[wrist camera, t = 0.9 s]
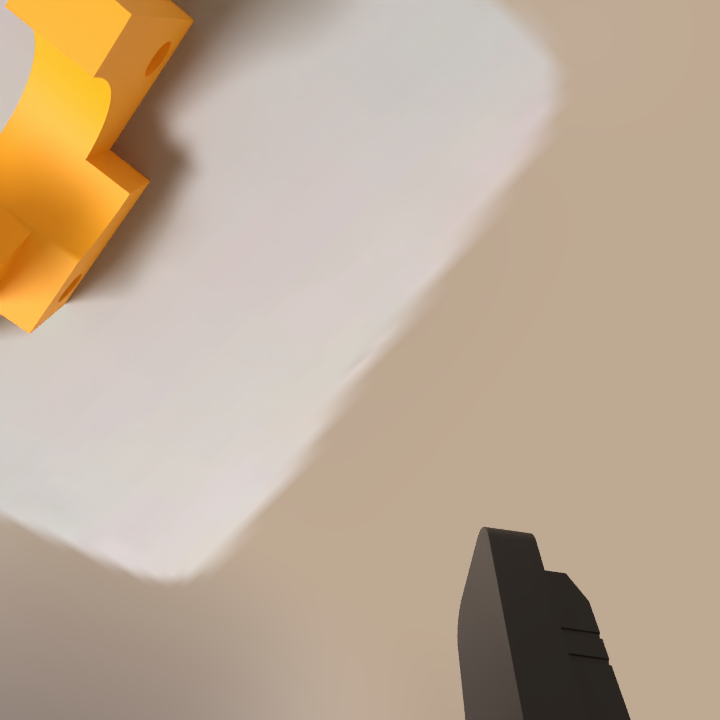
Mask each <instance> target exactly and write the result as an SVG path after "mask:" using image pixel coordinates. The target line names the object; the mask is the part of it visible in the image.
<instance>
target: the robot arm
mask: <svg viewBox="0 0 720 720" xmlns="http://www.w3.org/2000/svg"><path fill="white" fill-rule="evenodd" d="M599 634H600V632H599V629H598V626H597V623H596V620H595V617H594V614H593V612H592V609H591V606H590V603H589V601H588V600H587V599H586V597H585V596H584V595H583V594H582V592H581V591H580V590H579V589H578V588H577V586H576V585H575V584H574V583H573V582H572V580H571V579H570V578H569V577H568V576H567V574H565V573H559V572H552V571H545V570H544V567H543V564H542V560H541V556H540V553H539V549H538V546H537V542H536V539H535V537H534V535H533V534H531V533H524V532H516V531H510V530H502V529H495V528H488V527H483V528H482V529H481V530H480V532H479V535H478V538H477V542H476V546H475V550H474V554H473V557H472V561H471V565H470V569H469V573H468V577H467V581H466V585H465V588H464V592H463V596H462V600H461V605H460V611H459V618H458V652H459V661H460V670H461V680H462V690H463V700H464V710H465V720H630V717H629V714H628V711H627V708H626V705H625V703H624V700H623V697H622V694H621V691H620V689H619V685H618V683H617V680H616V677H615V674H614V671H613V668H612V666H611V665H609V657H608V654H607V652H606V649H605V646H604V643H603V640H602V639H600V637H599Z"/></svg>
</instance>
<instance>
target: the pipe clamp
mask: <svg viewBox="0 0 720 720" xmlns="http://www.w3.org/2000/svg"><path fill="white" fill-rule="evenodd" d="M5 7H6V8H8V9H9V10H10V11H11V12H13V13H14V14H15V15H16V16H18V17H19V18H20V19H21V20H23V21H24V22H25V23H26V24H27V25H29V26H30V27H31V28H32V29H33V30H34V34H35V55H34V61H33V65H32V70H31V73H30V76H29V79H28V82H27V85H26V87H25V90H24V92H23V95H22V97H21V99H20V101H19V103H18V105H17V107H16V109H15V111H14V113H13V115H12V116H11V118H10V120H9V122H8V123H7V125H6V126H5V128H4V130H3V131H2V133H1V134H0V314H1V315H2V316H4V317H5V318H7V319H8V320H10V321H11V322H13V323H14V324H16V325H17V326H19V327H20V328H22V329H23V330H25V331H26V332H28V333H29V334H30V333H31V332H32V331H33V330H35V329H36V328H37V327H38V326H39V325H41V324H42V323H43V322H44V321H45V320H47V319H48V318H49V317H50V316H51V315H53V314H54V313H55V312H56V311H57V310H58V309H60V308H61V307H62V306H63V305H64V304H65V303H66V302H67V301H68V299H69V298H70V296H71V295H72V293H73V292H74V290H75V289H76V288H77V286H78V285H79V283H80V282H81V280H82V279H83V277H84V276H85V275H86V273H87V272H88V270H89V269H90V267H91V266H92V265H93V263H94V262H95V260H96V259H97V257H98V256H99V254H100V253H101V252H102V250H103V249H104V247H105V246H106V244H107V243H108V241H109V240H110V239H111V237H112V236H113V234H114V233H115V231H116V230H117V229H118V227H119V226H120V224H121V223H122V221H123V220H124V218H125V217H126V216H127V214H128V213H129V211H130V210H131V208H132V207H133V205H134V204H135V203H136V201H137V200H138V198H139V197H140V195H141V194H142V193H143V191H144V190H145V188H146V187H147V185H148V184H149V182H150V181H149V180H148V179H147V178H145V177H144V176H143V175H142V174H140V173H139V172H138V171H137V170H135V169H134V168H133V167H131V166H130V165H129V164H128V163H126V162H125V161H124V160H122V159H121V158H120V157H119V156H117V155H116V154H115V153H114V152H112V151H111V150H110V149H111V147H112V146H113V144H114V143H115V141H116V140H117V138H118V137H119V135H120V134H121V132H122V131H123V129H124V128H125V126H126V124H127V123H128V121H129V120H130V118H131V117H132V115H133V114H134V112H135V111H136V109H137V108H138V106H139V105H140V103H141V102H142V100H143V98H144V97H145V95H146V94H147V92H148V91H149V89H150V88H151V86H152V85H153V83H154V82H155V80H156V79H157V77H158V76H159V74H160V72H161V71H162V69H163V68H164V66H165V65H166V63H167V62H168V60H169V59H170V57H171V56H172V54H173V53H174V51H175V50H176V48H177V46H178V45H179V43H180V42H181V40H182V39H183V37H184V36H185V34H186V33H187V31H188V30H189V28H190V27H191V25H192V24H193V22H194V20H193V19H192V18H191V17H190V16H189V15H187V14H186V13H185V12H184V11H183V10H182V9H181V8H179V7H178V6H177V5H176V4H175V3H174V2H173V1H171V0H8V2H7V4H6V6H5Z"/></svg>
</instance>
